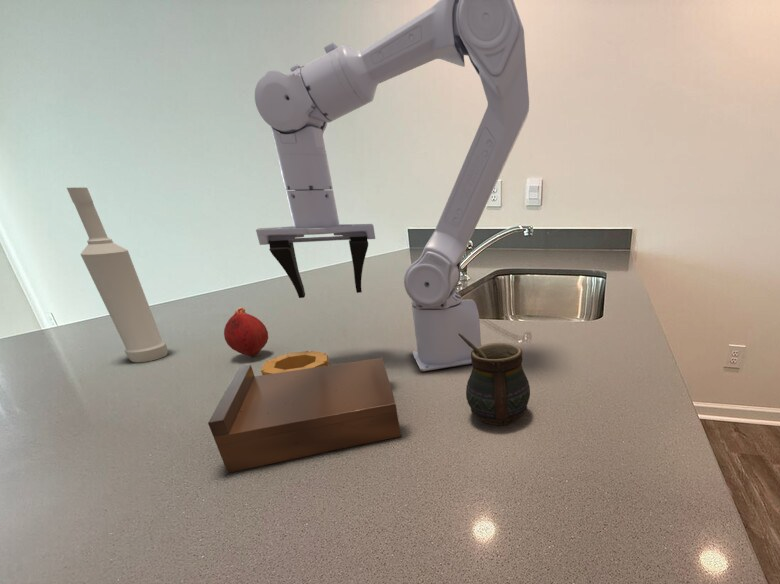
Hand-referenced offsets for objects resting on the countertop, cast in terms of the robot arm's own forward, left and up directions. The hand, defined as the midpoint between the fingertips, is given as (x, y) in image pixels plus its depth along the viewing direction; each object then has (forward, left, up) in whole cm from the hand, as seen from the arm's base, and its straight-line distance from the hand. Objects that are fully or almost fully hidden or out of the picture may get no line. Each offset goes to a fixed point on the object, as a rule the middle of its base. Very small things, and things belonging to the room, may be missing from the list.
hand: (331, 293), depth 59 cm
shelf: (+3, +19, -10) cm, 22 cm away
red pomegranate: (+14, -8, -11) cm, 19 cm away
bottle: (+30, -15, -11) cm, 35 cm away
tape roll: (+6, +6, -10) cm, 13 cm away
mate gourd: (-16, +26, -11) cm, 32 cm away
